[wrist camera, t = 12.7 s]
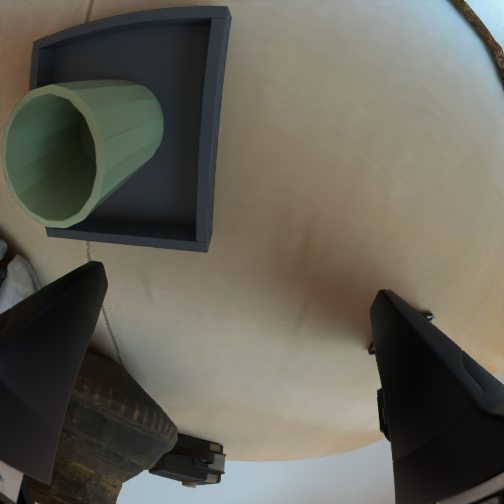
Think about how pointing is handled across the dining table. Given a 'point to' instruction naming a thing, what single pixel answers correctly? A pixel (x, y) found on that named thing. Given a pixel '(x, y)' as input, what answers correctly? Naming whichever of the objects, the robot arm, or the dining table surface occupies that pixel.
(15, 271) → the seashell
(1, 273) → the toy
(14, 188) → the cup
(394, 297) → the robot arm
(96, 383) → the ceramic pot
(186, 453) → the camera
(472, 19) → the branch
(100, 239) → the tray
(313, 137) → the dining table surface
